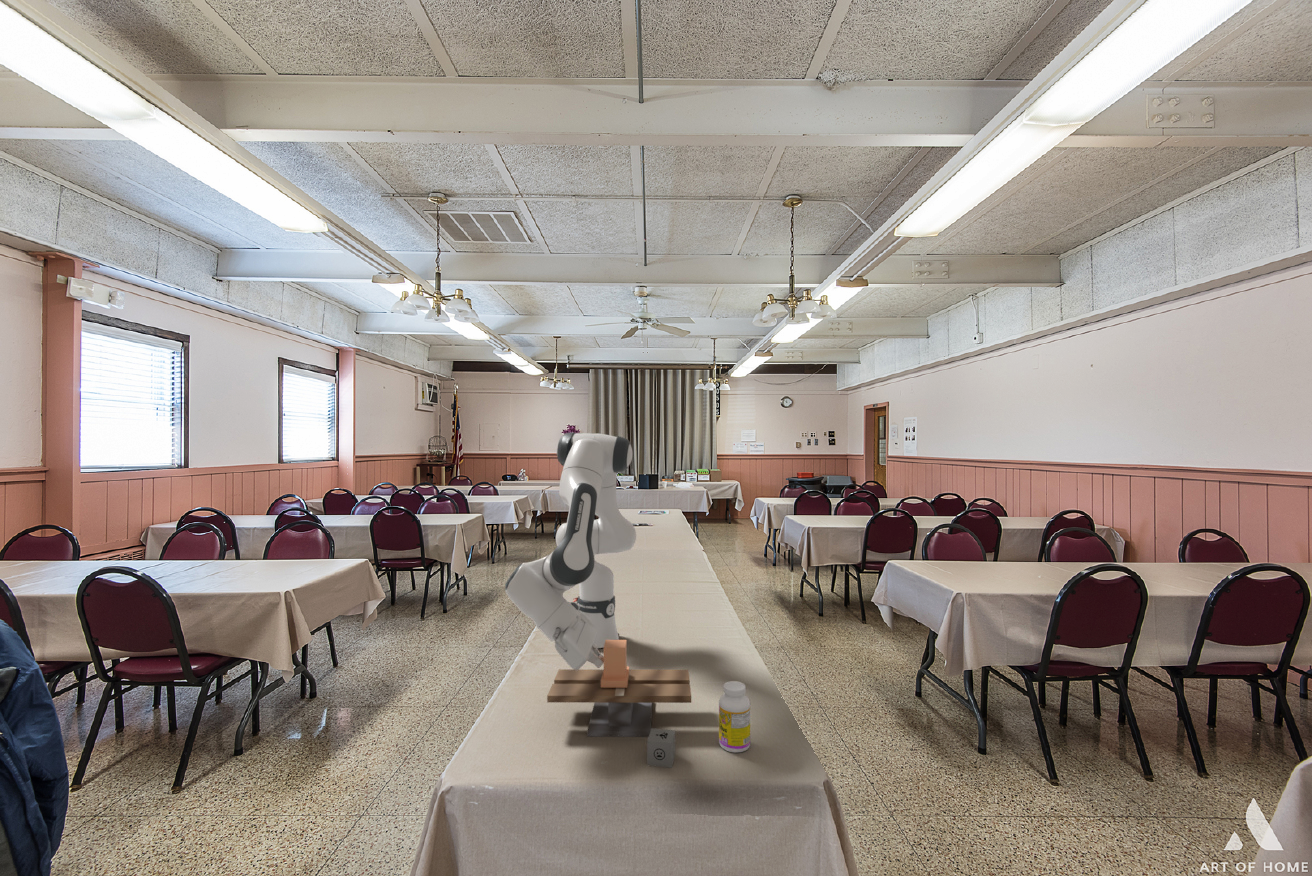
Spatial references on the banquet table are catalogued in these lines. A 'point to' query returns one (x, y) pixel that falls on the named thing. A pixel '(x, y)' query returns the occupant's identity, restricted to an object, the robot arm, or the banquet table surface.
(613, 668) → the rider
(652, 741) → the dice cube
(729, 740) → the supplement bottle
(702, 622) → the banquet table surface
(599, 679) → the balance beam
